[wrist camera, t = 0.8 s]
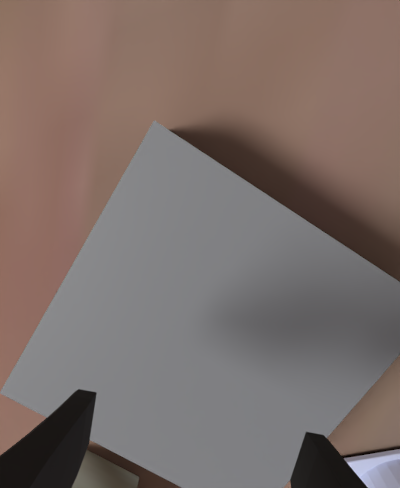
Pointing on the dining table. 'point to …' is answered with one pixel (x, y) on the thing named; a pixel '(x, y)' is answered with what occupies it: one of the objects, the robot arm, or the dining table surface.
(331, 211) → the dining table surface
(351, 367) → the base block
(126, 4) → the dining table surface
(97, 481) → the sage cube
